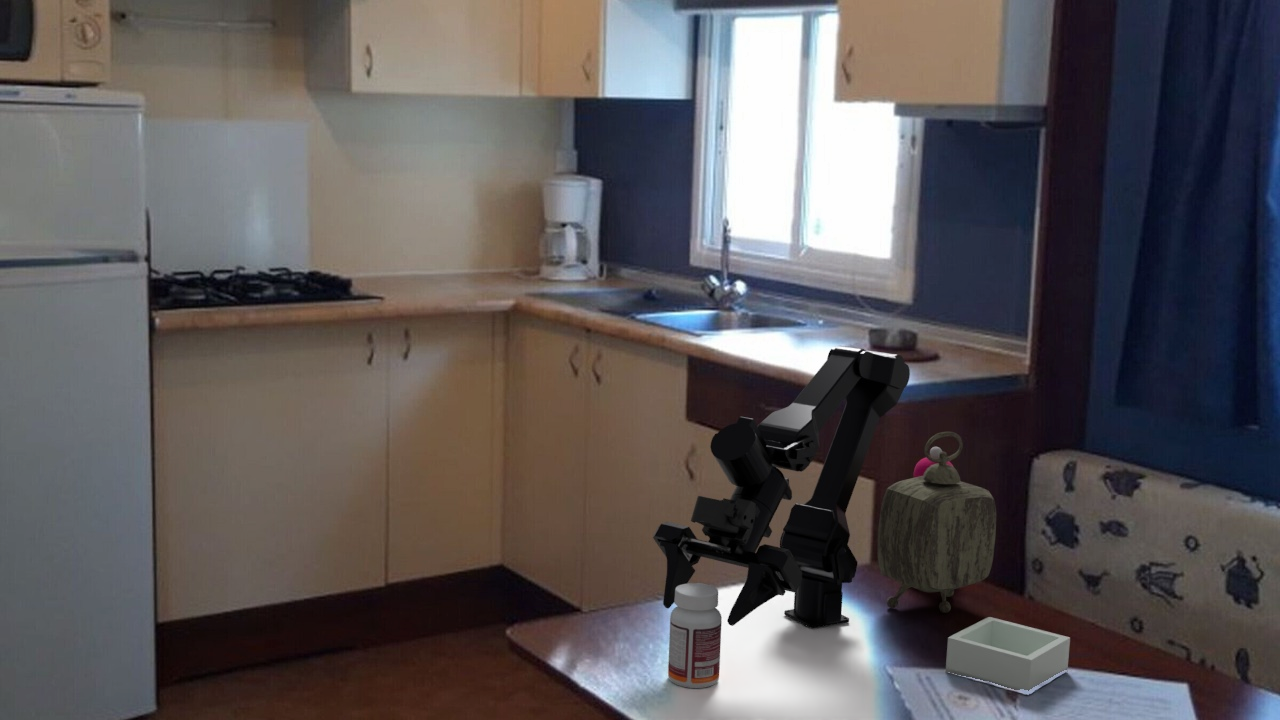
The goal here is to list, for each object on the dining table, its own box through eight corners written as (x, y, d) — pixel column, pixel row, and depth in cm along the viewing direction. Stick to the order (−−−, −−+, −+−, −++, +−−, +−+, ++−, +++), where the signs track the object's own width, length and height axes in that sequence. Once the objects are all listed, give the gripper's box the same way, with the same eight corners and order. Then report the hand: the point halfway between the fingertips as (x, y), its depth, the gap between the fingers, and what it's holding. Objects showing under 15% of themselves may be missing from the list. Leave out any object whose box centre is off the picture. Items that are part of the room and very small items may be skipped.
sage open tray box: (945, 672, 193) (948, 637, 192) (986, 650, 201) (989, 616, 201) (1028, 696, 186) (1031, 660, 185) (1067, 672, 195) (1070, 637, 194)
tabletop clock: (948, 591, 225) (961, 421, 221) (995, 610, 218) (1008, 434, 213) (873, 606, 217) (884, 430, 213) (918, 626, 210) (931, 444, 205)
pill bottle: (724, 674, 189) (728, 584, 188) (712, 692, 184) (716, 600, 182) (674, 668, 191) (678, 578, 189) (661, 685, 185) (665, 593, 183)
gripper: (665, 457, 193) (607, 563, 186) (796, 484, 182) (740, 596, 175) (697, 508, 201) (643, 611, 194) (825, 536, 190) (772, 646, 183)
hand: (697, 615), depth 186 cm, fingers open, 9 cm apart
